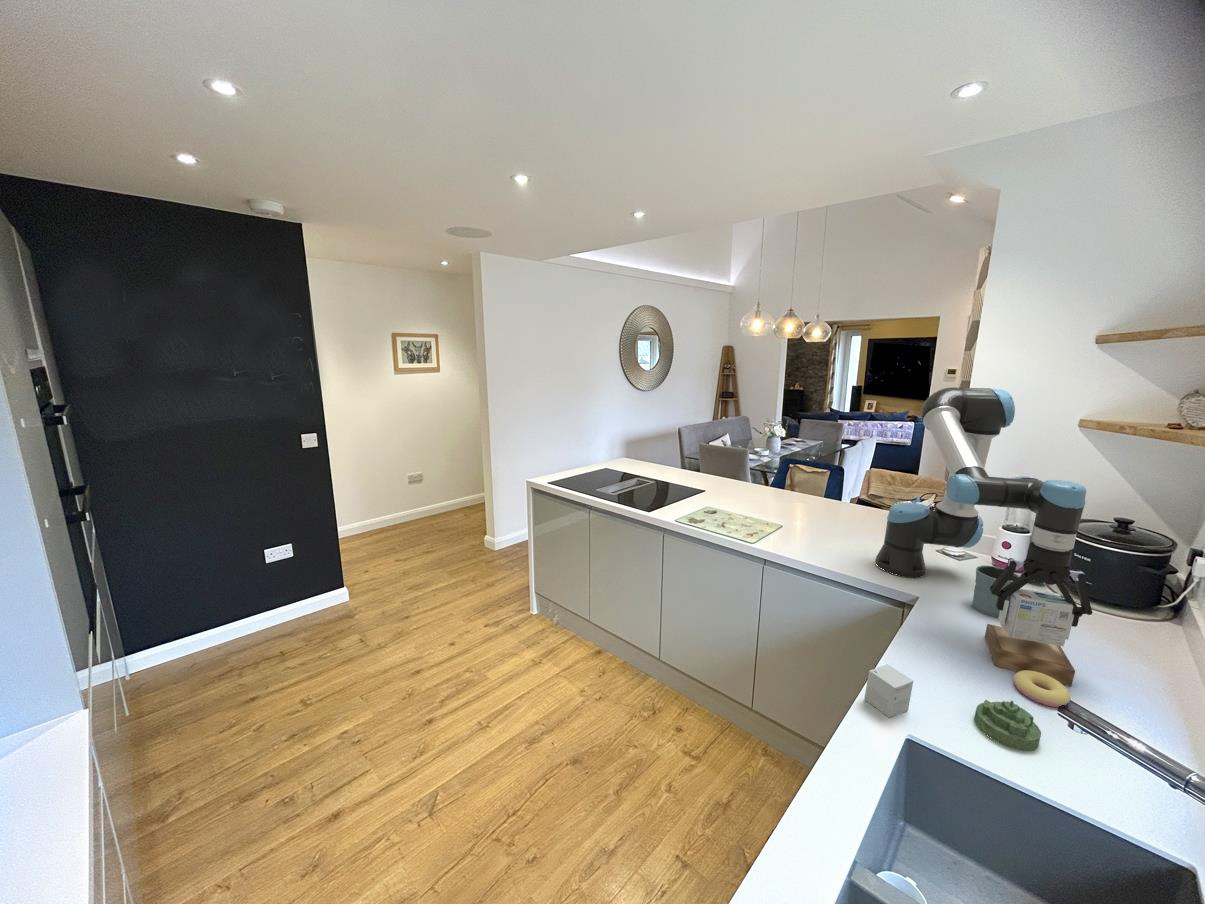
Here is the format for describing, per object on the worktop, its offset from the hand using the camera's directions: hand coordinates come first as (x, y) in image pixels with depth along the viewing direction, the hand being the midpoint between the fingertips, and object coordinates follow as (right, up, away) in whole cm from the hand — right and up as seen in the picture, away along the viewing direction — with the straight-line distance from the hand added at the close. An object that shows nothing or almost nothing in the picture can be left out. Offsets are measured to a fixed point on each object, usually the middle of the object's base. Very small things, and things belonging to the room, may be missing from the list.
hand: (1031, 629), depth 117 cm
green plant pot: (+10, -4, +25) cm, 28 cm away
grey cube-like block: (-45, -11, -15) cm, 48 cm away
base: (0, -8, +2) cm, 9 cm away
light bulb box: (0, -2, 0) cm, 2 cm away
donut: (-7, -11, -10) cm, 17 cm away
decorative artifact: (-24, -13, -21) cm, 35 cm away
